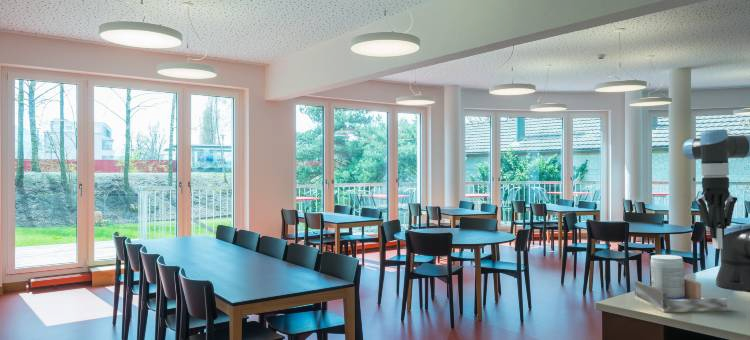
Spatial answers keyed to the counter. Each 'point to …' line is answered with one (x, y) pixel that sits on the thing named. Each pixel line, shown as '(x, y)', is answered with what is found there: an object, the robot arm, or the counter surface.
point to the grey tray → (676, 301)
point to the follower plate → (692, 289)
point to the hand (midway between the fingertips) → (717, 248)
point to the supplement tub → (668, 275)
